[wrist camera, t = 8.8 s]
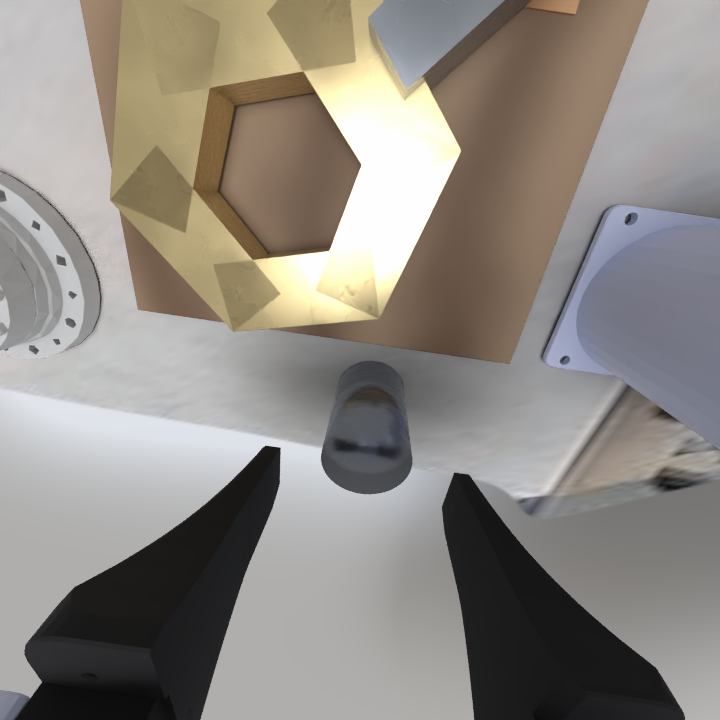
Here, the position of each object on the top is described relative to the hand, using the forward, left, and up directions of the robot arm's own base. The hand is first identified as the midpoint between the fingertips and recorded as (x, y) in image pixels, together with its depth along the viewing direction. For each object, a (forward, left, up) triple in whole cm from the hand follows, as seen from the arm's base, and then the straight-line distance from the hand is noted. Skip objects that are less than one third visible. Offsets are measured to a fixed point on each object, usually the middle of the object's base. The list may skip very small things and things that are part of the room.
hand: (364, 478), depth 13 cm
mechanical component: (+21, -5, -7) cm, 22 cm away
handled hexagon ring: (+2, -13, -6) cm, 15 cm away
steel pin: (0, 0, -7) cm, 7 cm away
